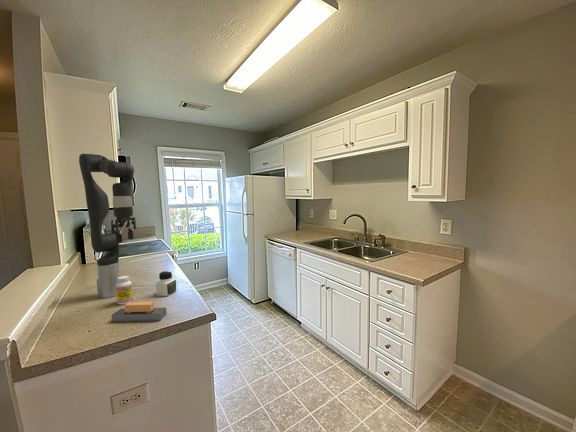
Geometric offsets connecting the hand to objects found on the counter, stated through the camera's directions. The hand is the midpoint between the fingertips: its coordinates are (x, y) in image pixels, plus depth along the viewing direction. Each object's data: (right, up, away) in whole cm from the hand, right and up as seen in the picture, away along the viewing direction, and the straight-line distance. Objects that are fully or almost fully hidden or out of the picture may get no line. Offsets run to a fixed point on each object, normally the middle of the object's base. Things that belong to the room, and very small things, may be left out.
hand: (125, 240), depth 115 cm
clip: (+12, -33, -8) cm, 36 cm away
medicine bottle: (+10, -31, +19) cm, 37 cm away
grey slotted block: (+12, -33, -8) cm, 36 cm away
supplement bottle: (-6, -32, +9) cm, 33 cm away
